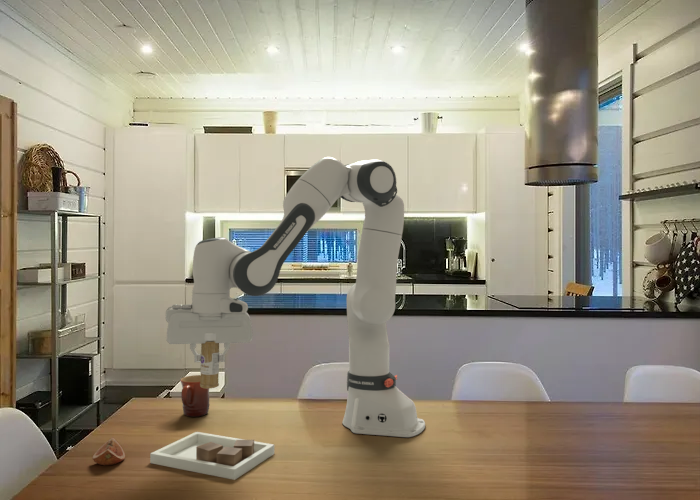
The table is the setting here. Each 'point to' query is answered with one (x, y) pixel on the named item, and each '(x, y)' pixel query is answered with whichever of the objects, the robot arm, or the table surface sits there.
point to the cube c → (245, 447)
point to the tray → (185, 459)
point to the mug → (194, 396)
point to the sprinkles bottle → (209, 362)
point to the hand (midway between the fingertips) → (209, 361)
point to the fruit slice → (109, 453)
